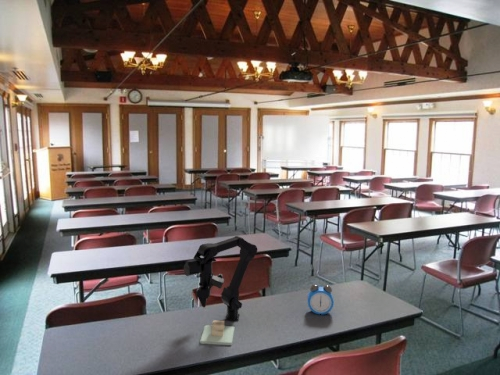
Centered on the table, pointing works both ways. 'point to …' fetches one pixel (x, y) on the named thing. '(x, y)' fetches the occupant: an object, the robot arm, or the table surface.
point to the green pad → (210, 339)
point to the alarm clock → (320, 299)
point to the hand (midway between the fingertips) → (205, 302)
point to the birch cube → (218, 328)
